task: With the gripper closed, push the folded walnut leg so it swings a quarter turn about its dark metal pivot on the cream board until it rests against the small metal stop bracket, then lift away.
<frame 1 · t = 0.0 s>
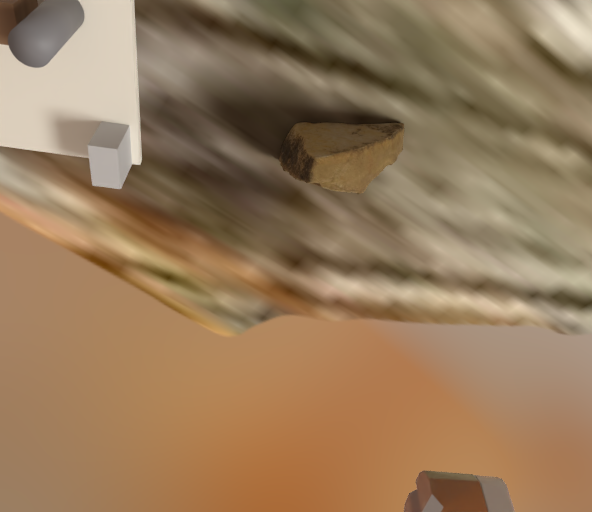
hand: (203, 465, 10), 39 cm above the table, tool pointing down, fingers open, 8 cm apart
rock: (342, 138, 50), on the table
stool base: (9, 36, 44), on the table
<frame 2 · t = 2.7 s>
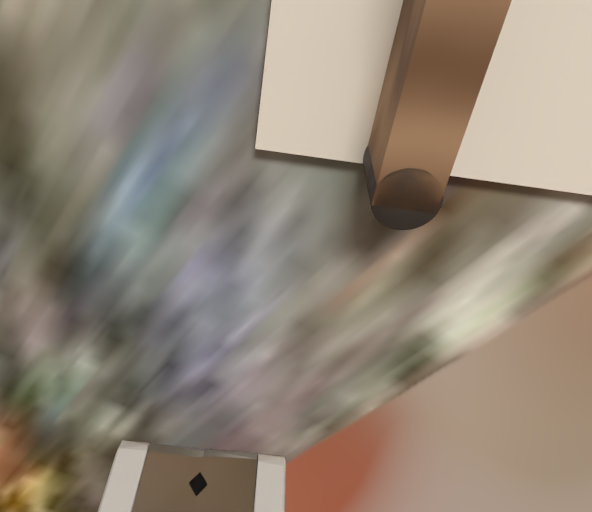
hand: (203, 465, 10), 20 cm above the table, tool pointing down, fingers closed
leg: (434, 63, 23), point 3 cm above the table, hinge at 0.0°, touching stool base
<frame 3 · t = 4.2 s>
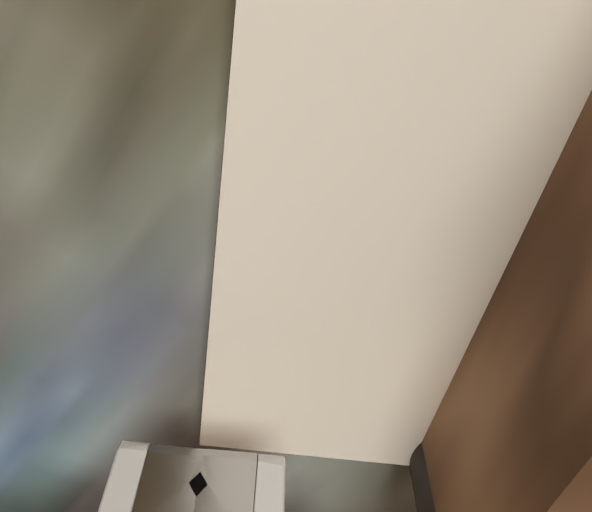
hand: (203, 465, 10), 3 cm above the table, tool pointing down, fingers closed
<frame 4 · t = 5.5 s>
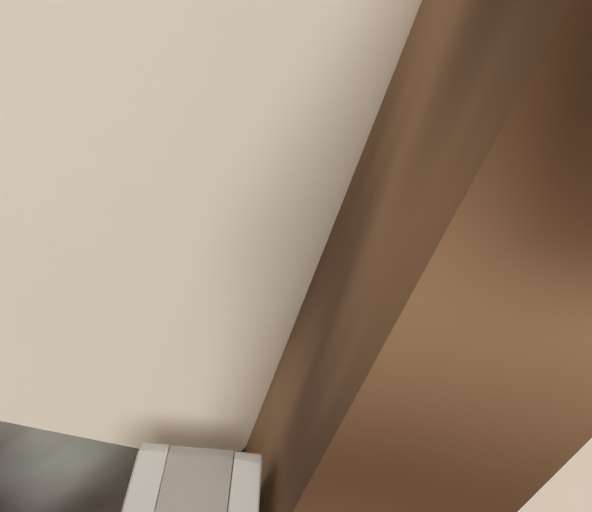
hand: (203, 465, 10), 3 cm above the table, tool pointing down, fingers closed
leg: (387, 399, 9), point 3 cm above the table, hinge at 2.4°, touching gripper, stool base
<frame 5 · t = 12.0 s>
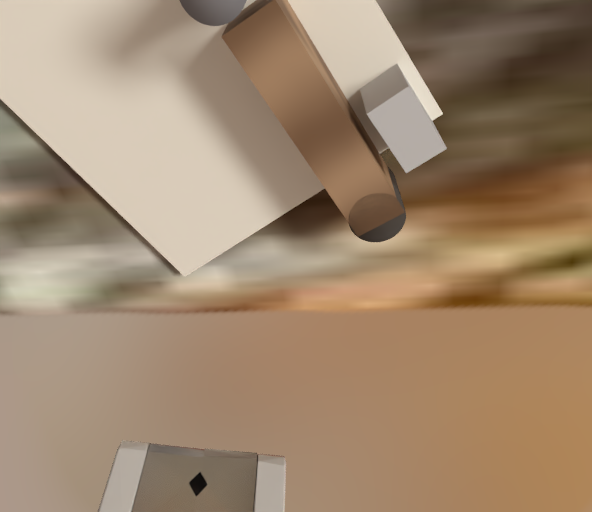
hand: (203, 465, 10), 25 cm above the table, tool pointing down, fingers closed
leg: (325, 126, 30), point 3 cm above the table, hinge at 86.8°, touching stool base
stool base: (198, 69, 31), on the table
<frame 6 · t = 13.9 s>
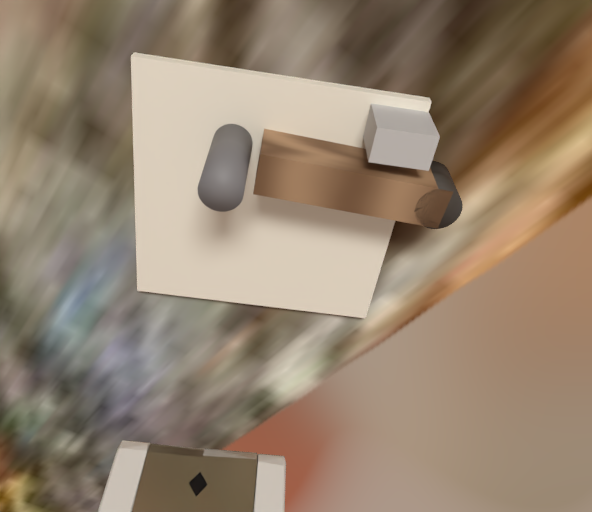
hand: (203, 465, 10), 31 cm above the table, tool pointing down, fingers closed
leg: (358, 179, 39), point 3 cm above the table, hinge at 86.8°, touching stool base
stool base: (267, 202, 43), on the table
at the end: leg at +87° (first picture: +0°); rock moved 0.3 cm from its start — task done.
